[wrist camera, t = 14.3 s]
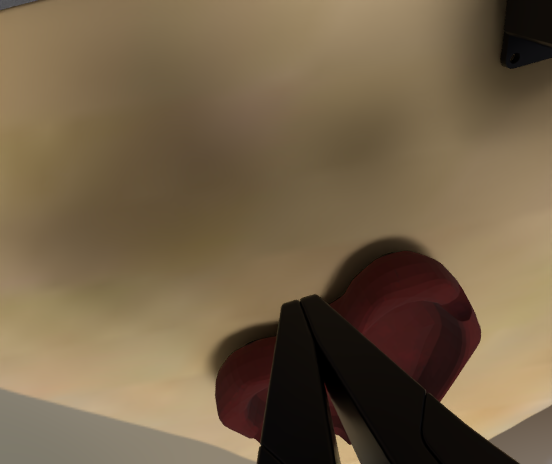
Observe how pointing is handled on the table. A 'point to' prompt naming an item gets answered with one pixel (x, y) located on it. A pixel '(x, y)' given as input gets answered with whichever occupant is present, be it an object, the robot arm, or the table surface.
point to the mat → (12, 3)
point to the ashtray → (371, 336)
